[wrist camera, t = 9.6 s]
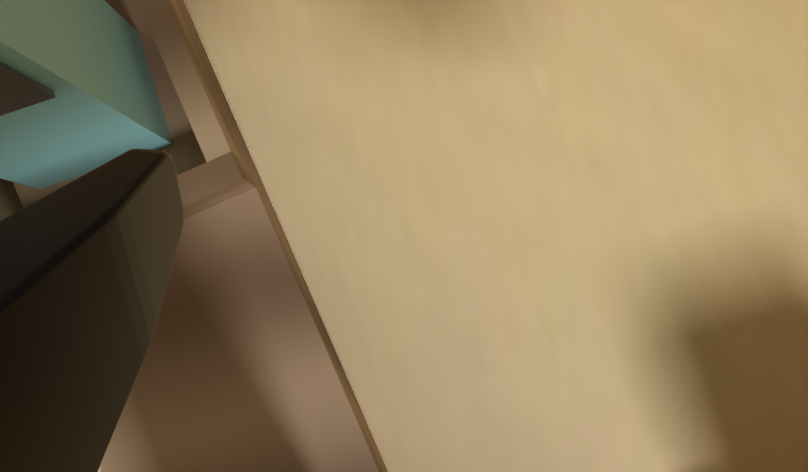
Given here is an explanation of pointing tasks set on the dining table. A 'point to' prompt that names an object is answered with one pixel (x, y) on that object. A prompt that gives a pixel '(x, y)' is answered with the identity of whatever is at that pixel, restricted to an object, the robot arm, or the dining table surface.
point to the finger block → (72, 90)
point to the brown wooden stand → (225, 302)
